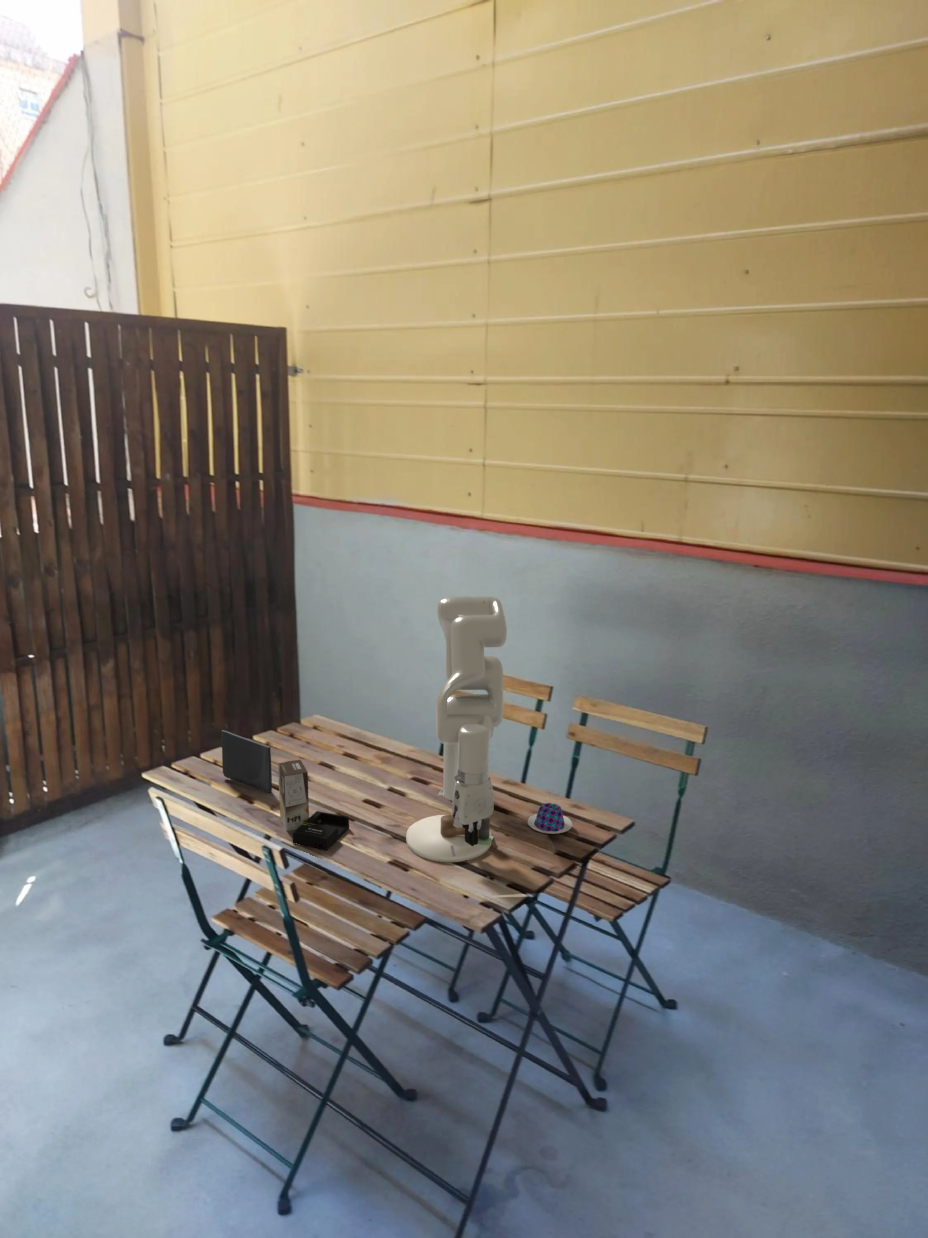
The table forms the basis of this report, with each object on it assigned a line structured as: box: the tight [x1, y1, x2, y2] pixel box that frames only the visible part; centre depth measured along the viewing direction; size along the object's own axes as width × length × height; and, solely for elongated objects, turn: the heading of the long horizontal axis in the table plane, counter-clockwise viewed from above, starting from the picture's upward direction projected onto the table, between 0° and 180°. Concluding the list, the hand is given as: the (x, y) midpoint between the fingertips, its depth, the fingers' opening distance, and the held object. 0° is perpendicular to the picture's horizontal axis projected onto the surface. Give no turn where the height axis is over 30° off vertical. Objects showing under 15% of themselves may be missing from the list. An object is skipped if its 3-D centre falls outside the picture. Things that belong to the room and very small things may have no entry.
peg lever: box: [441, 814, 491, 839], centre depth 212 cm, size 13×4×5 cm, turn 79°
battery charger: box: [292, 810, 350, 852], centre depth 214 cm, size 13×10×4 cm
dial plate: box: [405, 814, 495, 863], centre depth 214 cm, size 22×22×2 cm
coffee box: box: [277, 759, 310, 832], centre depth 219 cm, size 9×6×16 cm
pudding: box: [527, 802, 573, 835], centre depth 223 cm, size 12×12×5 cm
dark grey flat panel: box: [220, 729, 273, 794], centre depth 241 cm, size 20×2×15 cm, turn 57°
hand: (471, 843), depth 206 cm, fingers closed
